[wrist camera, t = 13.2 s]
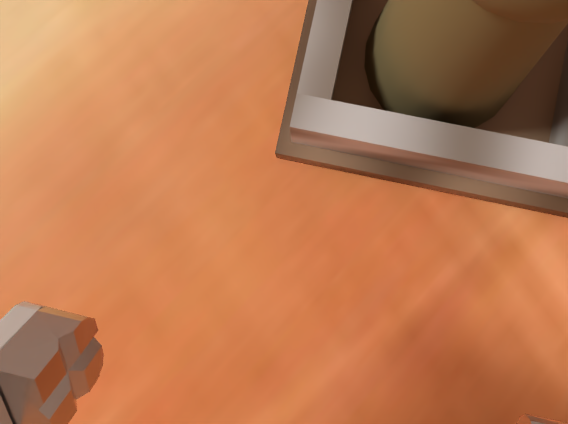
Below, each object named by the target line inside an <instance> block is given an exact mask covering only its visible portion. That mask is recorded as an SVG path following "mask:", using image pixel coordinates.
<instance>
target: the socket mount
mask: <svg viewBox="0 0 568 424" xmlns="http://www.w3.org/2000/svg"><path fill="white" fill-rule="evenodd" d="M387 2H388V0H309V1H308V5H307V10H306V15H305V19H304V24H303V28H302V33H301V37H300V42H299V46H298V51H297V56H296V60H295V65H294V69H293V74H292V78H291V83H290V88H289V92H288V97H287V101H286V106H285V110H284V115H283V119H282V124H281V129H280V133H279V138H278V142H277V147H276V151H275V154H276V157H277V158H281V159H286V160H291V161H296V162H301V163H306V164H310V165H315V166H320V167H325V168H330V169H335V170H340V171H344V172H349V173H354V174H359V175H364V176H369V177H374V178H378V179H383V180H388V181H393V182H398V183H403V184H408V185H412V186H417V187H422V188H427V189H432V190H437V191H442V192H446V193H451V194H456V195H461V196H466V197H471V198H476V199H480V200H485V201H490V202H495V203H500V204H505V205H510V206H514V207H519V208H524V209H529V210H534V211H539V212H543V213H548V214H553V215H558V216H563V217H568V24H567V25H566V26H565V28H564V29H563V30H562V32H561V33H560V34H559V35H558V37H557V38H556V39H555V41H554V42H553V43H552V44H551V46H550V47H549V48H548V49H547V51H546V52H545V53H544V55H543V56H542V57H541V58H540V60H539V61H538V62H537V64H536V65H535V66H534V67H533V69H532V70H531V71H530V72H529V74H528V75H527V76H526V78H525V79H524V80H523V81H522V83H521V84H520V85H519V87H518V88H517V89H516V90H515V92H514V93H513V94H512V95H511V97H510V98H509V99H508V100H507V102H506V103H505V104H504V105H503V106H502V108H501V109H500V110H499V111H498V112H497V113H496V115H495V116H494V117H492V118H491V119H489V120H487V121H486V122H484V123H482V124H481V125H479V126H478V127H476V128H471V127H466V126H461V125H456V124H450V123H445V122H440V121H435V120H430V119H425V118H420V117H415V116H410V115H405V114H400V113H395V112H390V111H385V110H383V108H382V107H381V105H380V104H379V102H378V101H377V99H376V98H375V96H374V95H373V93H372V92H371V90H370V87H369V83H368V79H367V75H366V72H365V68H364V64H365V49H366V42H367V40H368V37H369V35H370V33H371V30H372V28H373V25H374V23H375V21H376V19H377V18H378V16H379V15H380V13H381V11H382V10H383V8H384V7H385V5H386V3H387Z"/></svg>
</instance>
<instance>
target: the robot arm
mask: <svg viewBox="0 0 568 424" xmlns="http://www.w3.org/2000/svg"><path fill="white" fill-rule="evenodd" d="M97 331H98V328H97V325H96V321H95V319H94V318H90V317H86V316H82V315H78V314H74V313H70V312H66V311H62V310H58V309H54V308H50V307H47V306H42V305H38V304H34V303H29V302H25V301H24V302H21V303H19V304H17V305H15V306H14V307H13V308H12V309H11V310H10V311H9V312H8V313H7V314H6V315H5V316H4V317H3V318H2V319H1V320H0V424H68V423H69V422H70V420H71V419H72V417H73V416H74V414H75V413H76V411H77V403H76V399H78V398H79V397H81V396H83V395H85V394H86V393H88V392H90V390H91V389H92V387H93V386H94V384H95V383H96V381H97V379H98V377H99V374H100V371H101V369H102V366H103V355H104V354H103V349H102V346H101V344H100V343H99V342H98V341H97V340H96V339H95V338H94V336H95V334H96V333H97ZM516 424H568V423H567V422H562V421H557V420H552V419H548V418H543V417H538V416H533V415H529V414H524V415H522V416H521V417H520V418H519V419H518V421H517V423H516Z"/></svg>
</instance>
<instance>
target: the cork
mask: <svg viewBox="0 0 568 424" xmlns="http://www.w3.org/2000/svg"><path fill="white" fill-rule="evenodd" d="M567 24H568V0H388V2H387V3H386V5H385V7H384V8H383V10H382V11H381V13H380V15H379V16H378V18H377V19H376V21H375V23H374V25H373V28H372V30H371V33H370V35H369V37H368V40H367V42H366V49H365V64H364V68H365V72H366V75H367V79H368V83H369V87H370V90H371V92H372V93H373V95H374V96H375V98H376V99H377V101H378V102H379V104H380V105H381V107H382V108H383V110H385V111H390V112H395V113H400V114H405V115H410V116H415V117H420V118H425V119H430V120H435V121H440V122H445V123H450V124H456V125H461V126H466V127H471V128H476V127H478V126H479V125H481V124H482V123H484V122H486V121H487V120H489V119H491V118H492V117H494V116H495V115H496V113H497V112H498V111H499V110H500V109H501V108H502V106H503V105H504V104H505V103H506V102H507V100H508V99H509V98H510V97H511V95H512V94H513V93H514V92H515V90H516V89H517V88H518V87H519V85H520V84H521V83H522V81H523V80H524V79H525V78H526V76H527V75H528V74H529V72H530V71H531V70H532V69H533V67H534V66H535V65H536V64H537V62H538V61H539V60H540V58H541V57H542V56H543V55H544V53H545V52H546V51H547V49H548V48H549V47H550V46H551V44H552V43H553V42H554V41H555V39H556V38H557V37H558V35H559V34H560V33H561V32H562V30H563V29H564V28H565V26H566V25H567Z"/></svg>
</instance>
